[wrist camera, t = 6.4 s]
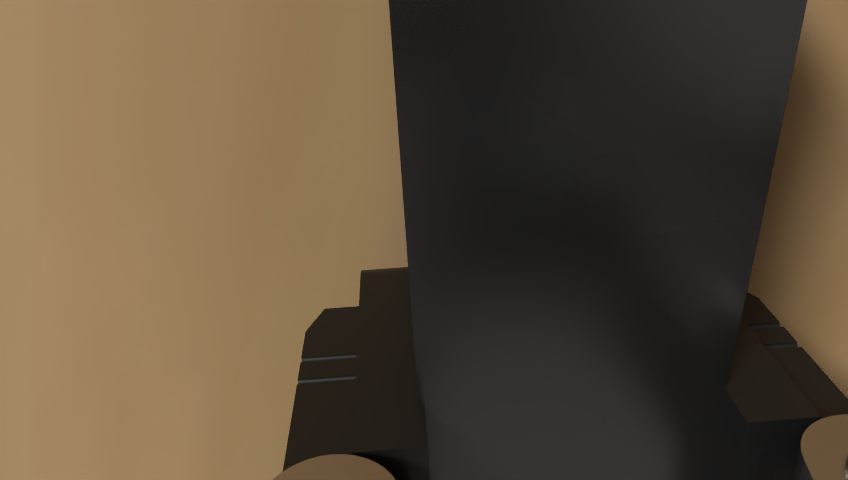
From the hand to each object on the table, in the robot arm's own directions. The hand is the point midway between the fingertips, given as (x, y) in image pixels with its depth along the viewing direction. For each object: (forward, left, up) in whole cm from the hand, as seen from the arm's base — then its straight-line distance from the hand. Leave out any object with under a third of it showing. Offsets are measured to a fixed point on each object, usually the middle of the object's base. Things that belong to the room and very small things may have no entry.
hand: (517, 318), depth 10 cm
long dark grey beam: (0, 0, -1) cm, 1 cm away
